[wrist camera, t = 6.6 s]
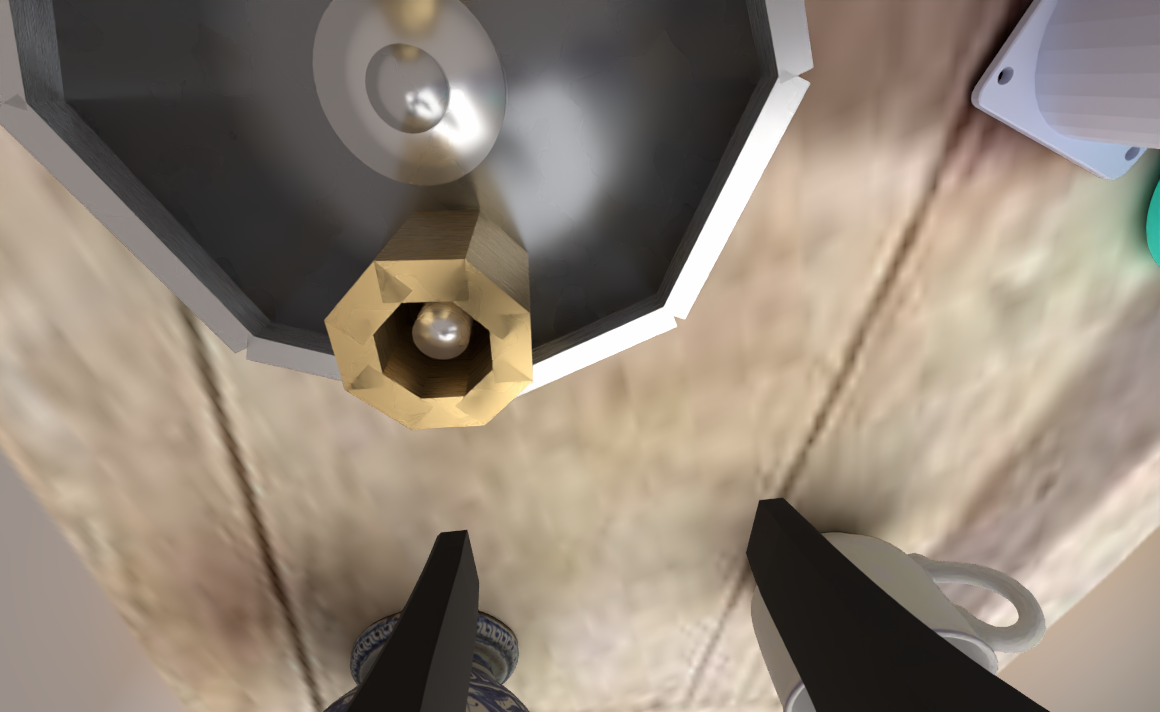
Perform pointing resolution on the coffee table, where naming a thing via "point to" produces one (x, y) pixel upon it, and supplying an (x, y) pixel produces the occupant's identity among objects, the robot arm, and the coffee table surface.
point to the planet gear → (431, 274)
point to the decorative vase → (492, 665)
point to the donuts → (1154, 225)
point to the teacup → (912, 610)
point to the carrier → (409, 148)
